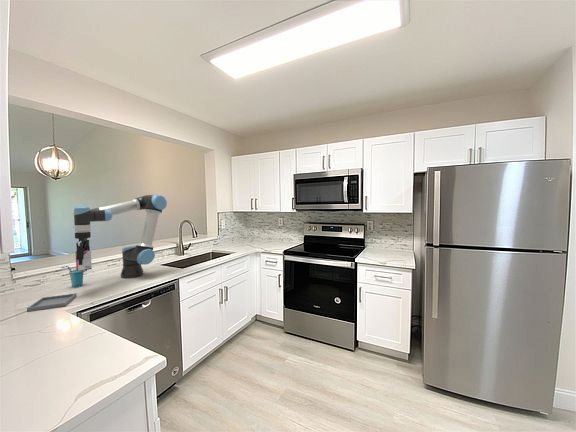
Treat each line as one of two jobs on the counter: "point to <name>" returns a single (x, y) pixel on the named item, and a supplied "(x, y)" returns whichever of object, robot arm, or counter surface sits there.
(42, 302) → the tray
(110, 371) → the counter surface
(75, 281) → the cup
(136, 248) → the robot arm
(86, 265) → the supplement box
